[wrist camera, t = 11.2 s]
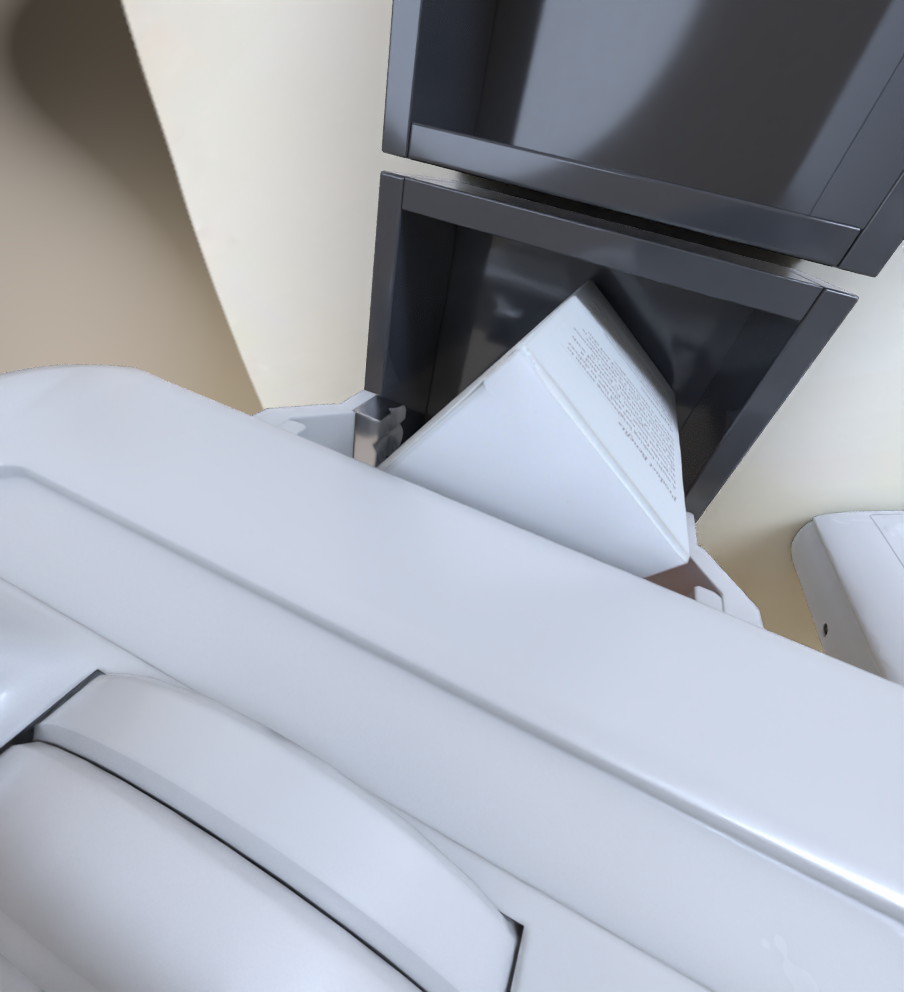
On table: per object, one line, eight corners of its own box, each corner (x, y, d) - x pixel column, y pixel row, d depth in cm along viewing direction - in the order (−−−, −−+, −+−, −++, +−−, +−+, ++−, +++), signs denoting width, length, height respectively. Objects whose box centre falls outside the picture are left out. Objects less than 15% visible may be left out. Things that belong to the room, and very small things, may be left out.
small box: (522, 487, 21) (437, 658, 13) (449, 400, 20) (308, 526, 12) (681, 393, 16) (700, 572, 8) (593, 272, 16) (518, 342, 7)
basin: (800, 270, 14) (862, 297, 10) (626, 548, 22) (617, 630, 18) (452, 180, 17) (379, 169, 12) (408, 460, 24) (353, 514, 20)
